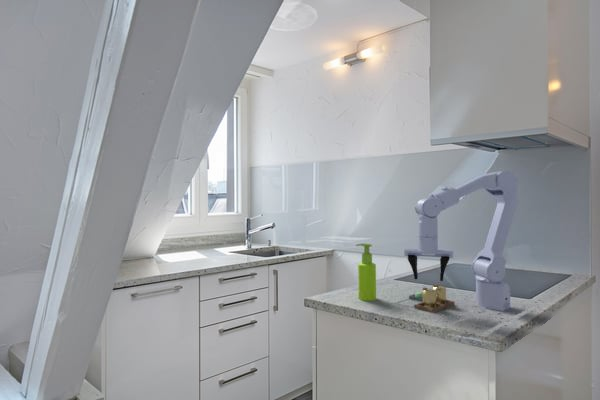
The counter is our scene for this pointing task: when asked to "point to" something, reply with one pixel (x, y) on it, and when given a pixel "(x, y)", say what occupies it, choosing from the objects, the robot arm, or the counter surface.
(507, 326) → the counter surface
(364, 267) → the soap dispenser
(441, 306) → the wooden tray
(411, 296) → the button housing
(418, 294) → the button
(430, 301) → the cylinder
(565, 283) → the counter surface
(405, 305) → the light blue shallow tray
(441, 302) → the cylinder
